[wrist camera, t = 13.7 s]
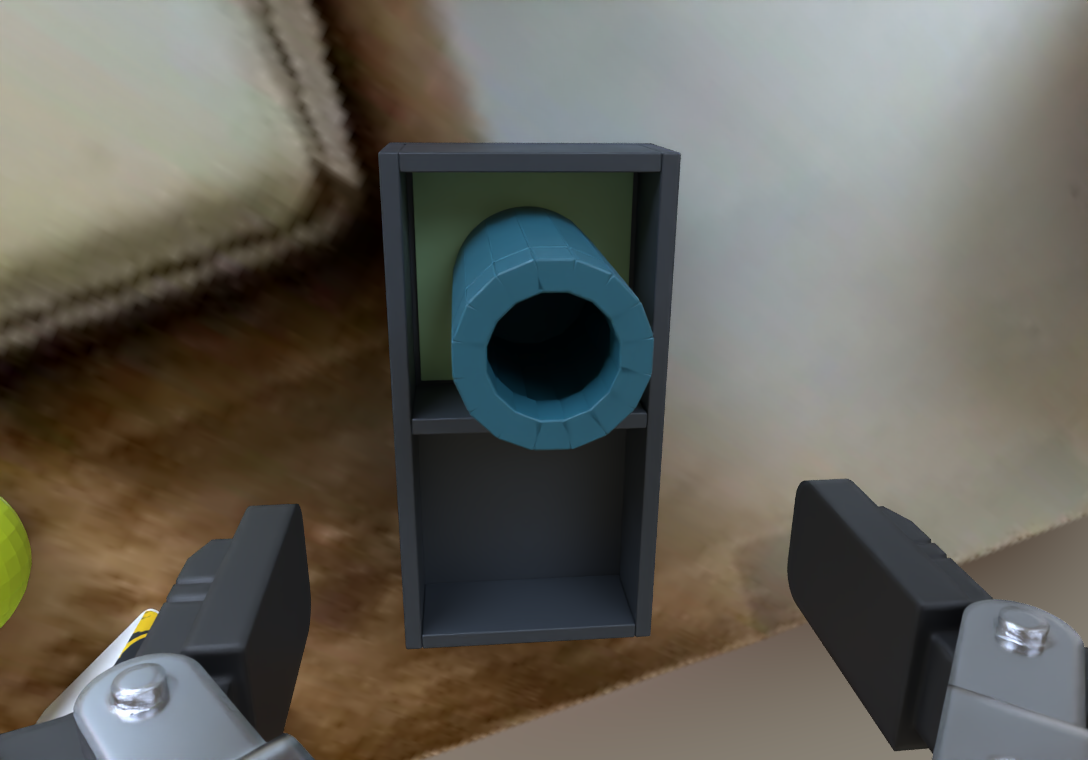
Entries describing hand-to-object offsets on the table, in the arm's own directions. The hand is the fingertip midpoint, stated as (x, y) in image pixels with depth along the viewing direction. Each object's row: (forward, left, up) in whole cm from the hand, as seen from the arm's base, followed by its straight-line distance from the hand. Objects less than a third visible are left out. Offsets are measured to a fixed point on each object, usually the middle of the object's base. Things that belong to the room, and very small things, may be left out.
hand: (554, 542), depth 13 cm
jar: (+1, 0, -18) cm, 17 cm away
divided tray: (+1, -4, -18) cm, 19 cm away
